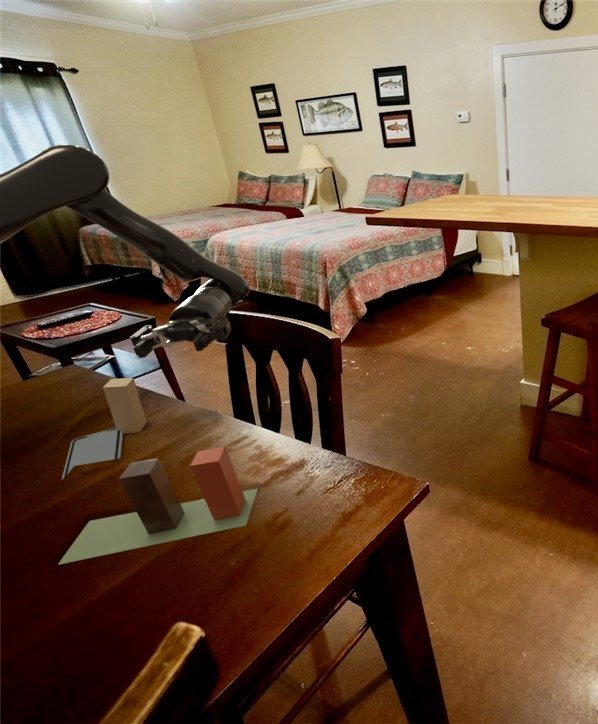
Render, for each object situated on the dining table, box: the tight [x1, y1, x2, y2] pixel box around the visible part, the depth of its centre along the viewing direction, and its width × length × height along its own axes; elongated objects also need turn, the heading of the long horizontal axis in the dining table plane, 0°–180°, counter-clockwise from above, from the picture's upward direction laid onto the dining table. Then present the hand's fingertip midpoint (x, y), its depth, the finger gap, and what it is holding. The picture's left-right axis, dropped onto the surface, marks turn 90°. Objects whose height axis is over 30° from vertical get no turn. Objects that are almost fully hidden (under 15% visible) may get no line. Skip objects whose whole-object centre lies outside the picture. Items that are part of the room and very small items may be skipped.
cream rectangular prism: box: [102, 377, 147, 435], centre depth 89 cm, size 3×3×10 cm
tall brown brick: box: [118, 457, 184, 534], centre depth 66 cm, size 3×3×10 cm
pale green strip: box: [57, 488, 259, 566], centre depth 68 cm, size 22×8×1 cm, turn 107°
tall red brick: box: [189, 446, 246, 520], centre depth 68 cm, size 3×3×10 cm
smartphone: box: [61, 427, 124, 480], centre depth 83 cm, size 7×1×15 cm
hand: (168, 349), depth 80 cm, fingers open, 8 cm apart
